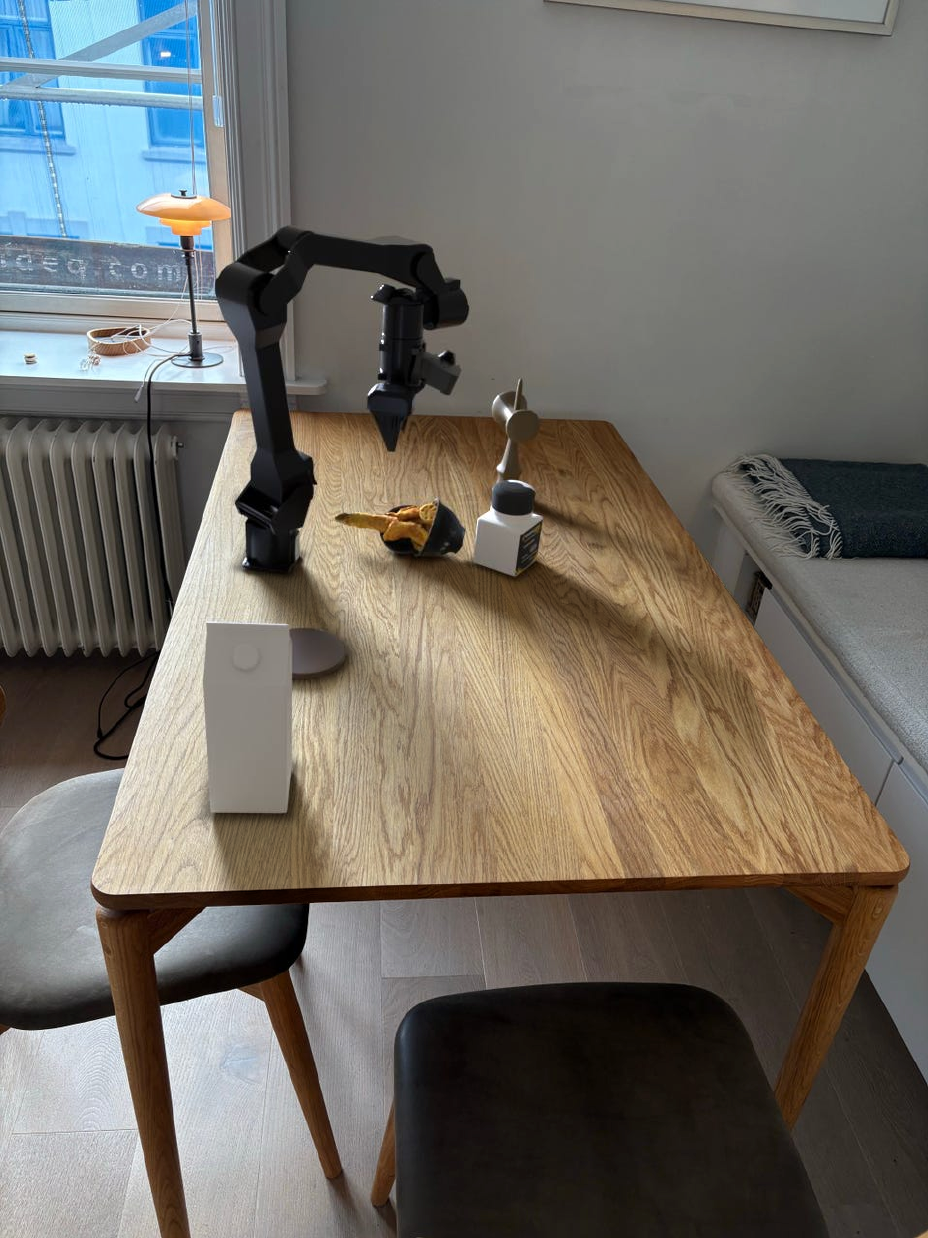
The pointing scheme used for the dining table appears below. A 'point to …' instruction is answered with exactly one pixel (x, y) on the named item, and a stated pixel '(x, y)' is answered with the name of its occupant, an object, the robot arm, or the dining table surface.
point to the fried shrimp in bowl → (413, 528)
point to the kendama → (514, 429)
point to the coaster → (315, 653)
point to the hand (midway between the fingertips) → (396, 440)
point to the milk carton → (248, 716)
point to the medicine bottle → (509, 529)
